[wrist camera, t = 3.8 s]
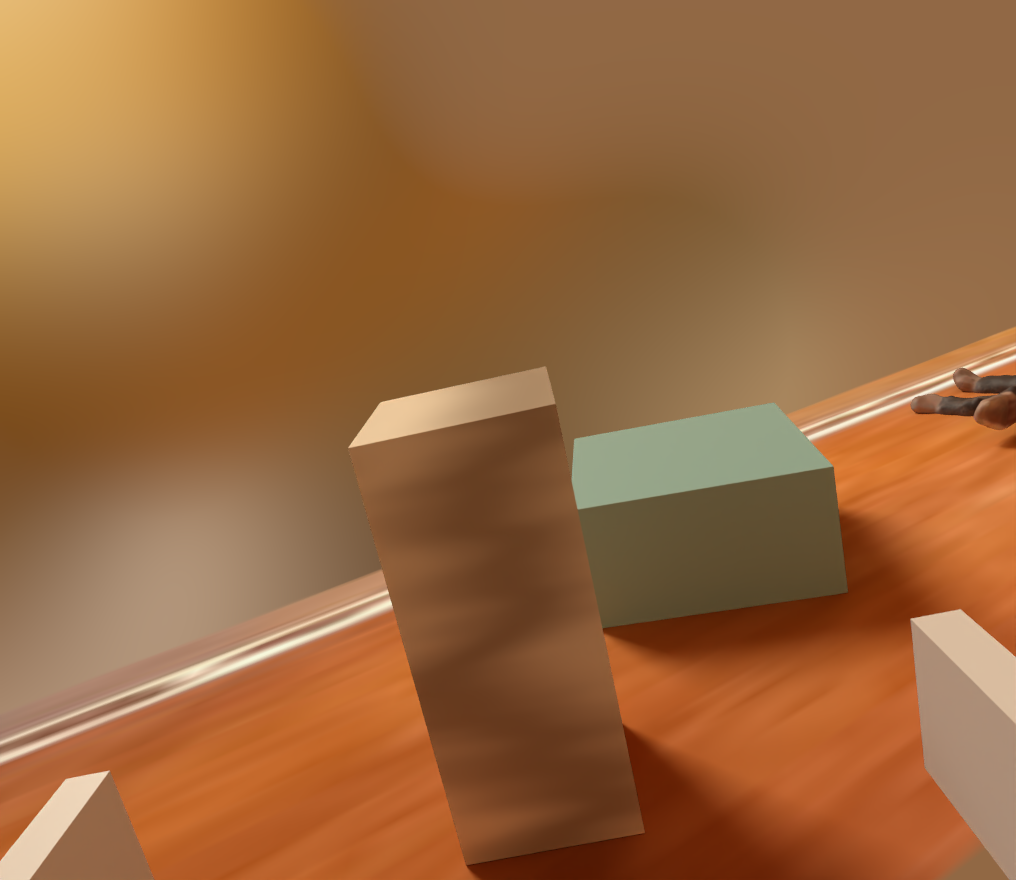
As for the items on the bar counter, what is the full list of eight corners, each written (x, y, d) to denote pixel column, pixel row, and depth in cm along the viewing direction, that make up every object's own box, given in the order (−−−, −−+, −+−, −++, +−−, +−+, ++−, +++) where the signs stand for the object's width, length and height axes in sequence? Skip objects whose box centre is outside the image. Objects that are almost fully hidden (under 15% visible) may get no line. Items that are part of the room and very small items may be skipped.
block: (466, 865, 20) (348, 447, 17) (473, 749, 24) (380, 402, 21) (644, 832, 20) (555, 403, 17) (620, 721, 24) (545, 366, 21)
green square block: (595, 635, 29) (569, 510, 28) (594, 537, 38) (574, 439, 37) (849, 599, 28) (833, 466, 27) (788, 506, 37) (773, 402, 35)
